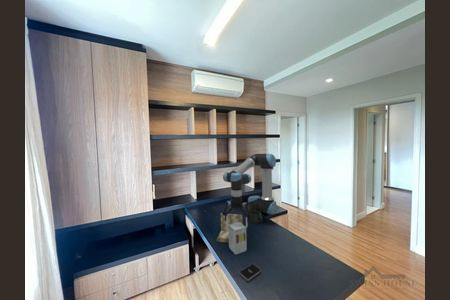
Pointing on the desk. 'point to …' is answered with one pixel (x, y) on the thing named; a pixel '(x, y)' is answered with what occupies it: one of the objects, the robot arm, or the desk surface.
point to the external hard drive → (250, 272)
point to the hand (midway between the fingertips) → (236, 225)
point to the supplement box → (237, 238)
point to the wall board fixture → (225, 229)
